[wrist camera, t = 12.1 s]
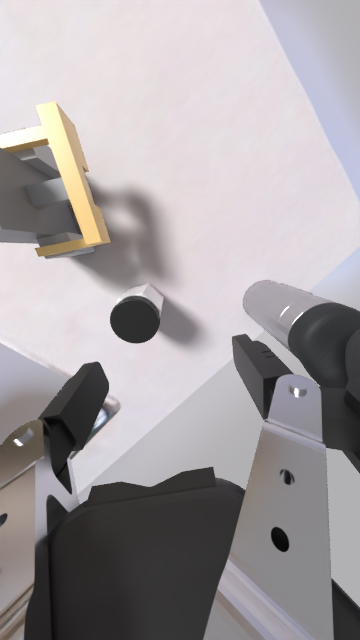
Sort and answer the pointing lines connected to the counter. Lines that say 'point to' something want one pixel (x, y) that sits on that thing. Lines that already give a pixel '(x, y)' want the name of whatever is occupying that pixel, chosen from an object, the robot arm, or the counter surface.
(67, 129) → the tan u-shaped bracket
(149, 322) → the jar
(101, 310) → the counter surface
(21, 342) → the counter surface
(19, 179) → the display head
